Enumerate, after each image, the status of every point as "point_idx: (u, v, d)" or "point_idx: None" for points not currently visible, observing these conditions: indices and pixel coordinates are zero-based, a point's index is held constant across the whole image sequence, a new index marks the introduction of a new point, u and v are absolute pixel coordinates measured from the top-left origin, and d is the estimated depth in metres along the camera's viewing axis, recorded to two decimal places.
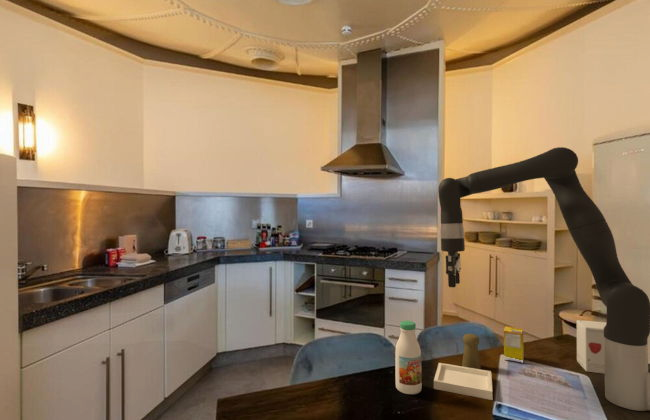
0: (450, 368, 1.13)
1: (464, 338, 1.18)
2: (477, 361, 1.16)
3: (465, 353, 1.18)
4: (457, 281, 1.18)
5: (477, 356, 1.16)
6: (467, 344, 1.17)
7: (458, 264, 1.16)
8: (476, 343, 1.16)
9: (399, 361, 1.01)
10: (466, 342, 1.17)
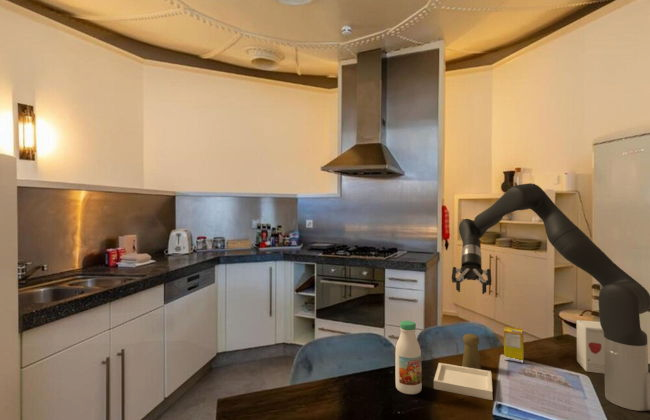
0: (450, 368, 1.13)
1: (464, 338, 1.18)
2: (477, 361, 1.16)
3: (465, 353, 1.18)
4: (482, 290, 1.28)
5: (477, 356, 1.16)
6: (467, 344, 1.17)
7: (477, 275, 1.32)
8: (476, 343, 1.16)
9: (399, 361, 1.01)
10: (466, 342, 1.17)
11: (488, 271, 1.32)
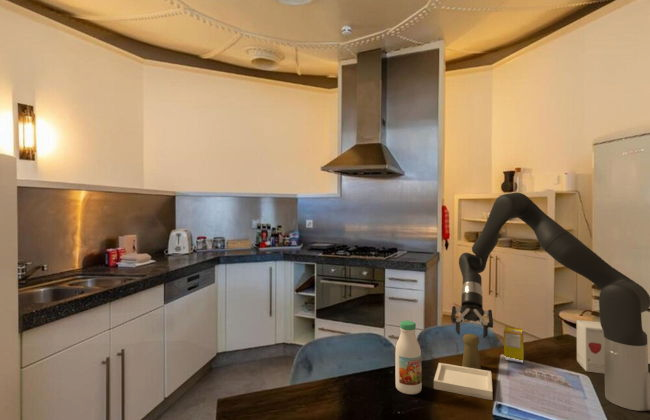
0: (450, 368, 1.13)
1: (464, 338, 1.18)
2: (477, 361, 1.16)
3: (465, 353, 1.18)
4: (483, 334, 1.21)
5: (477, 356, 1.16)
6: (467, 344, 1.17)
7: (478, 316, 1.25)
8: (476, 343, 1.16)
9: (399, 361, 1.01)
10: (466, 342, 1.17)
11: (489, 312, 1.25)
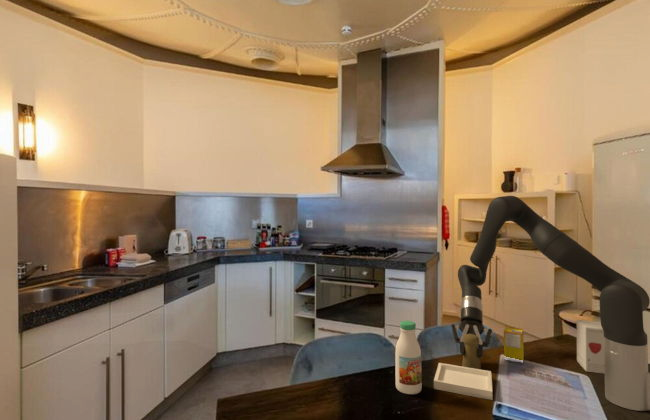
0: (450, 368, 1.13)
1: (464, 338, 1.18)
2: (477, 361, 1.16)
3: (465, 353, 1.18)
4: (478, 353, 1.16)
5: (477, 356, 1.16)
6: (467, 344, 1.17)
7: (475, 333, 1.20)
8: (476, 343, 1.16)
9: (399, 361, 1.01)
10: (466, 342, 1.17)
11: (489, 331, 1.19)
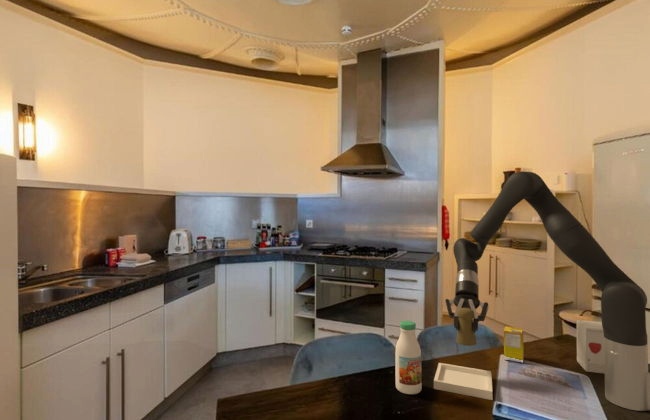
0: (450, 368, 1.13)
1: (458, 312, 1.11)
2: (472, 336, 1.09)
3: (459, 328, 1.11)
4: (473, 328, 1.09)
5: (472, 330, 1.09)
6: (461, 318, 1.10)
7: (470, 307, 1.13)
8: (471, 317, 1.09)
9: (399, 361, 1.01)
10: (460, 316, 1.10)
11: (485, 305, 1.12)
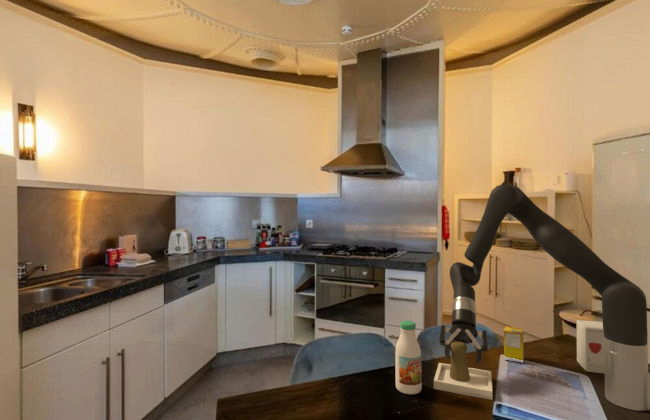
0: None
1: (451, 345, 1.08)
2: (465, 371, 1.06)
3: (452, 362, 1.08)
4: (476, 359, 1.04)
5: (465, 365, 1.06)
6: (454, 352, 1.07)
7: (470, 338, 1.08)
8: (463, 351, 1.06)
9: (399, 361, 1.01)
10: (453, 350, 1.07)
11: (484, 333, 1.08)
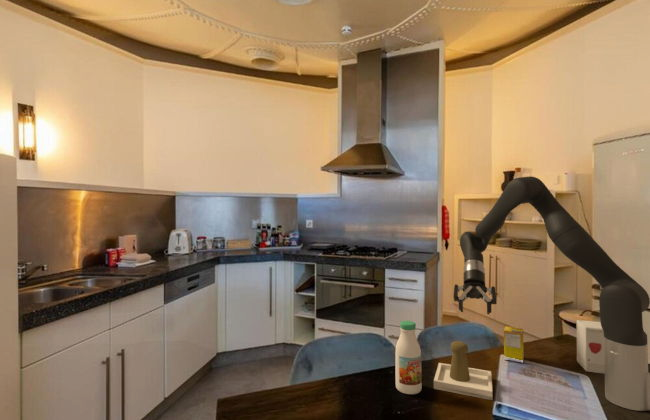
0: (450, 368, 1.13)
1: (452, 346, 1.08)
2: (465, 371, 1.06)
3: (453, 362, 1.08)
4: (487, 310, 1.18)
5: (465, 366, 1.06)
6: (455, 352, 1.07)
7: (481, 293, 1.22)
8: (464, 351, 1.06)
9: (399, 361, 1.01)
10: (453, 350, 1.07)
11: (493, 289, 1.22)
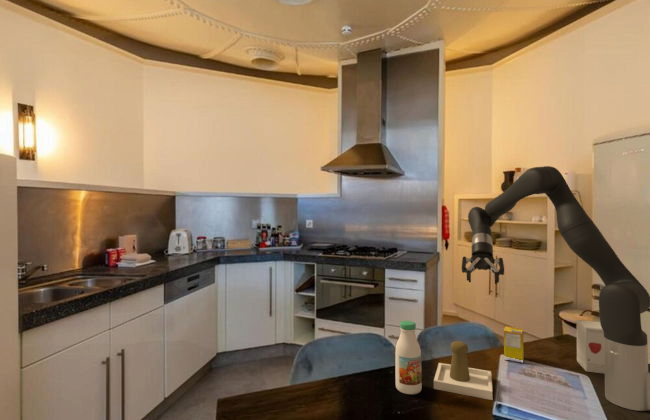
0: None
1: (452, 346, 1.08)
2: (465, 371, 1.06)
3: (452, 362, 1.08)
4: None
5: (465, 366, 1.06)
6: (455, 352, 1.07)
7: (488, 264, 1.25)
8: (464, 351, 1.06)
9: (399, 361, 1.01)
10: (453, 350, 1.07)
11: (500, 260, 1.25)
